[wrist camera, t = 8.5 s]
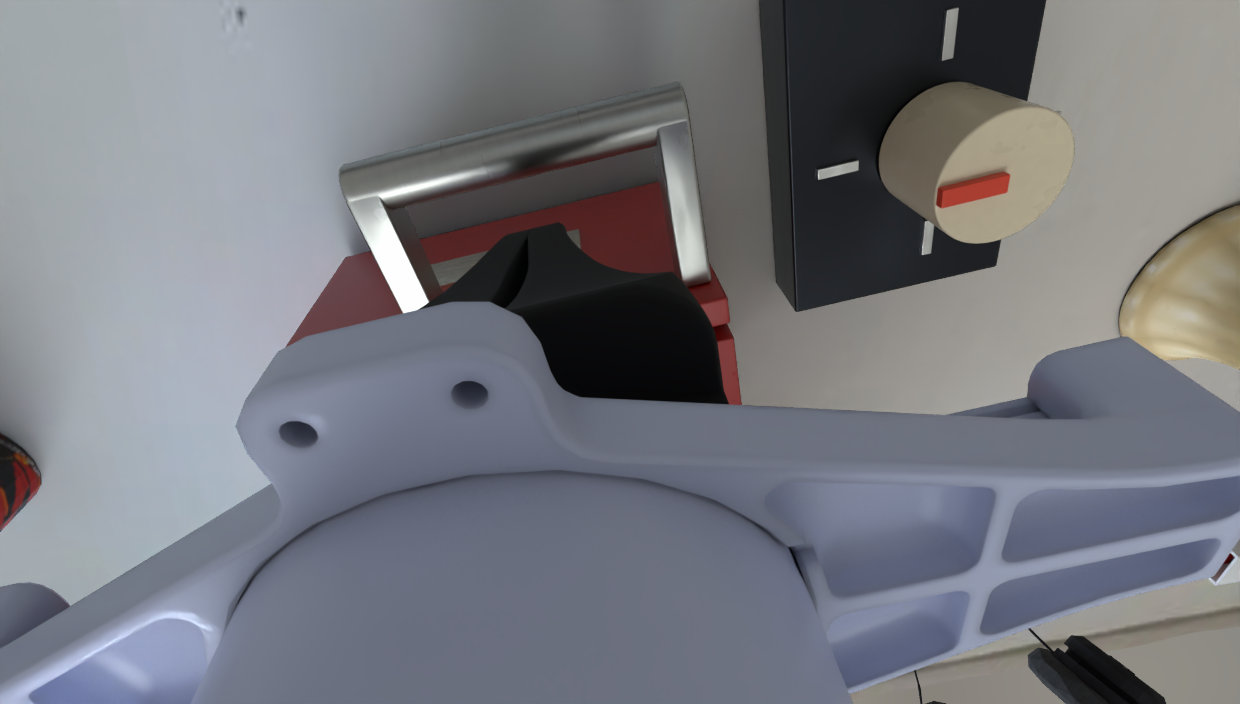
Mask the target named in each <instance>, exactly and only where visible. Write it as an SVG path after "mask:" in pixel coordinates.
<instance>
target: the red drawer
mask: <svg viewBox="0 0 1240 704" xmlns="http://www.w3.org/2000/svg"><path fill="white" fill-rule="evenodd" d="M649 147H653V151H654V156H655V162H656V168H657V173H658V179H659V182H655V183H651V184H647V185H642V186H638V187H634V188H630V189H626V190H622V191H618V192H613V193H609V194H605V195H601V196H597V197H593V198H589V199H585V200H580V201H576V202H572V203H568V204H564V205H560V206H556V207H552V208H547V209H543V210H539V211H535V212H531V213H527V214H523V215H518V216H514V217H510V218H506V219H502V220H498V221H494V222H490V223H485V224H481V225H477V226H473V227H469V228H465V229H461V230H457V231H452V232H448V233H444V234H440V235H436V236H432V237H428V238H424V239H419V238H418V236H417V233H416V231H415V229H414V227H413V224H412V222H411V220H410V218H409V215H408V213H407V211H406V209H405V207H408V206H412V205H416V204H420V203H424V202H428V201H432V200H436V199H440V198H444V197H448V196H452V195H457V194H461V193H465V192H469V191H473V190H477V189H481V188H485V187H489V186H493V185H497V184H502V183H506V182H510V181H514V180H518V179H522V178H526V177H530V176H534V175H538V174H542V173H546V172H551V171H555V170H559V169H563V168H567V167H571V166H575V165H579V164H583V163H587V162H591V161H595V160H600V159H604V158H608V157H612V156H616V155H620V154H624V153H628V152H632V151H636V150H640V149H645V148H649ZM339 182H340V187H341V190H342V193H343V195H344V198H345V200H346V203H347V205H348V207H349V209H350V211H351V213H352V215H353V217H354V219H355V221H356V223H357V225H358V227H359V229H360V231H361V233H362V235H363V237H364V239H365V241H366V243H367V245H368V247H369V249H370V252H366V253H362V254H357V255H353V256H349V257H346V258H345V259H344V260H343V262H342V263H341V265H340V266H339V268H338V269H337V271H336V272H335V274H334V275H333V277H332V278H331V280H330V281H329V283H328V284H327V286H326V287H325V289H324V290H323V292H322V293H321V295H320V296H319V298H318V299H317V301H316V302H315V304H314V305H313V307H312V308H311V310H310V311H309V313H308V314H307V316H306V317H305V319H304V320H303V322H302V323H301V325H300V326H299V328H298V329H297V331H296V332H295V334H294V335H293V337H292V338H291V340H290V341H289V343H288V344H287V346H289V345H291V344H293V343H295V342H297V341H298V340H300V339H302V338H304V337H306V336H310V335H314V334H318V333H322V332H327V331H331V330H335V329H339V328H344V327H348V326H352V325H356V324H361V323H365V322H369V321H373V320H377V319H382V318H386V317H390V316H394V315H399V314H403V313H407V312H411V311H415V310H418V309H420V308H421V307H423V306H424V305H426V304H427V303H429V302H430V301H432V300H433V299H435V298H436V297H437V296H439V295H440V294H442V293H443V292H444V291H446V290H447V289H448V288H449V287H451V286H452V285H453V284H454V283H455V282H456V281H457V280H459V279H460V278H461V277H462V276H463V275H464V274H465V273H466V272H467V271H469V270H470V269H471V268H472V267H473V266H474V265H475V264H476V263H477V262H478V261H479V260H480V259H481V258H482V257H483V256H484V255H485V254H486V253H487V252H488V251H489V250H490V249H491V248H492V247H493V246H494V245H495V244H496V243H497V242H498V241H499V240H500V239H501V238H503V237H504V236H505V235H507V234H511V233H515V232H519V231H524V230H528V229H532V228H536V227H540V226H544V225H548V224H553V223H557V222H560V223H561V224H563V225H564V226H565V228H566V231H567V234H568V236H569V237H570V239H571V240H572V241H573V242H574V243H575V244H576V245H577V246H578V247H579V248H580V249H581V250H582V251H583V252H584V253H586V254H587V255H588V256H590V257H591V258H592V259H594V260H595V261H597V262H599V263H601V264H603V265H605V266H608V267H611V268H614V269H618V270H622V271H627V272H635V273H659V272H673V273H674V274H676V275H677V277H678V278H679V279H680V280H681V281H682V282H683V283H684V284H685V286H686V287H687V288H688V289H689V290H690V292H691V293H692V294H693V296H694V297H695V298H696V300H697V301H698V302H699V304H700V305H701V307H702V308H703V310H704V311H705V313H706V315H707V316H708V318H709V320H710V322H711V324H712V327H714V326H719V325H723V324H727V323H729V322H730V315H729V307H728V298H727V296H726V294H725V292H724V290H723V288H722V286H721V284H720V282H719V280H718V278H717V276H716V274H715V272H714V271H713V269H712V267H711V265H710V263H709V258H708V251H707V243H706V236H705V229H704V221H703V214H702V206H701V199H700V191H699V184H698V177H697V169H696V162H695V154H694V147H693V139H692V132H691V125H690V117H689V110H688V105H687V100H686V96H685V92H684V89H683V87H682V85H681V84H680V83H679V82H673V83H669V84H665V85H661V86H657V87H653V88H649V89H645V90H641V91H637V92H633V93H629V94H625V95H621V96H617V97H613V98H609V99H605V100H601V101H597V102H593V103H589V104H585V105H581V106H577V107H573V108H568V109H564V110H560V111H556V112H552V113H548V114H544V115H540V116H536V117H532V118H528V119H524V120H520V121H516V122H512V123H508V124H504V125H500V126H496V127H492V128H488V129H484V130H480V131H476V132H472V133H468V134H464V135H460V136H456V137H452V138H448V139H444V140H440V141H436V142H432V143H428V144H424V145H420V146H416V147H412V148H408V149H404V150H400V151H396V152H392V153H388V154H384V155H380V156H376V157H372V158H368V159H364V160H360V161H356V162H352V163H348V164H344V165H343V166H342V167H341V168H340V170H339ZM287 346H286V347H287ZM286 347H285V348H286Z"/></svg>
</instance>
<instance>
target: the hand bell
mask: <svg viewBox="0 0 1240 704" xmlns="http://www.w3.org/2000/svg"><path fill="white" fill-rule="evenodd" d="M1119 328H1120V333H1121V336H1122V337H1129V338H1131V339H1132V340H1134V341H1135V342H1137V343H1138V344H1140V345H1141V346H1143V347H1144V348H1146V349H1147V350H1149V351H1150V352H1152V353H1153V354H1155V355H1156V356H1157V357H1159V358H1160V359H1162V360H1183V359H1190V358H1202V359H1208V360H1213V361H1216V362H1220V363H1223V364H1226V365H1229V366H1232V367H1234V368H1237V369H1239V370H1240V205H1238V206H1233V207H1231V208H1228V209H1226V210H1223V211H1221V212H1219V213H1216V214H1214V215H1212V216H1210V217H1208V218H1206V219H1205V220H1203V221H1201V222H1200V223H1198V224H1196V225H1194V226H1192V227H1191V228H1189V229H1188V230H1186V231H1185V232H1183V233H1182V234H1180V235H1179V236H1178V237H1176V238H1175V239H1174V240H1172V241H1171V242H1170V243H1168V244H1167V245H1166V246H1165V247H1163V248H1162V249H1161V250H1160V251H1159V252H1158V253H1157V254H1156V256H1155V257H1154V258H1153V259H1152V260H1151V261H1150V262H1149V263H1148V264H1147V265H1146V266H1145V267H1144V269H1143V270H1142V271H1141V272H1140V274H1139V275H1138V277H1137V278H1136V280H1135V281H1134V283H1133V284H1132V286H1131V288H1130V289H1129V291H1128V293H1127V295H1126V297H1125V299H1124V302H1123V304H1122V307H1121V311H1120V317H1119Z"/></svg>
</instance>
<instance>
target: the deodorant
mask: <svg viewBox="0 0 1240 704" xmlns="http://www.w3.org/2000/svg"><path fill="white" fill-rule="evenodd" d="M40 485H41V478H40V472H39V470H38V468H37V466H36V464H35V462H34V461H33V460H32V459H31V458H30V457H29V456H28V454H27V453H26V452H25V451H24V450H23V449H22V448H20V447H19V446H17V445H16V444H15V443H13V442H12V441H10V440H9V439H8V438H6V437H4V436H2V435H0V532H1V531H2V530H3V528H4V527H5V526H6V525H7V524H8V523H9V522H10V521H11V520H12V519H13V518H14V517H15V516H16V515H17V514H18V513H19V512H20V510H21V509H22V508H23V507H24V506H25V505H26V504H27V503H28V502H29V501H30V500H31V499H32V498H33V497H34V496H35V495H36V494H37V492H38V489H39V487H40Z"/></svg>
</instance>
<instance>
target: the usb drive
mask: <svg viewBox="0 0 1240 704" xmlns="http://www.w3.org/2000/svg"><path fill="white" fill-rule="evenodd" d="M1208 579H1209V580H1210V581H1211V582H1212V583H1213V584H1214V585H1216V586H1217V585H1222V584H1228V583H1234V582H1240V539H1239V541H1238V542H1237V544H1236V545H1235V547H1234V548H1233V550H1232V551H1231V552H1230V554H1229V555H1228V557H1227V558H1226V560H1225V561H1224V563H1223V564H1222V566H1221V567H1220V569H1219V570H1218V572H1217V573H1216V575H1214V576H1213V577H1210V578H1208Z"/></svg>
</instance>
